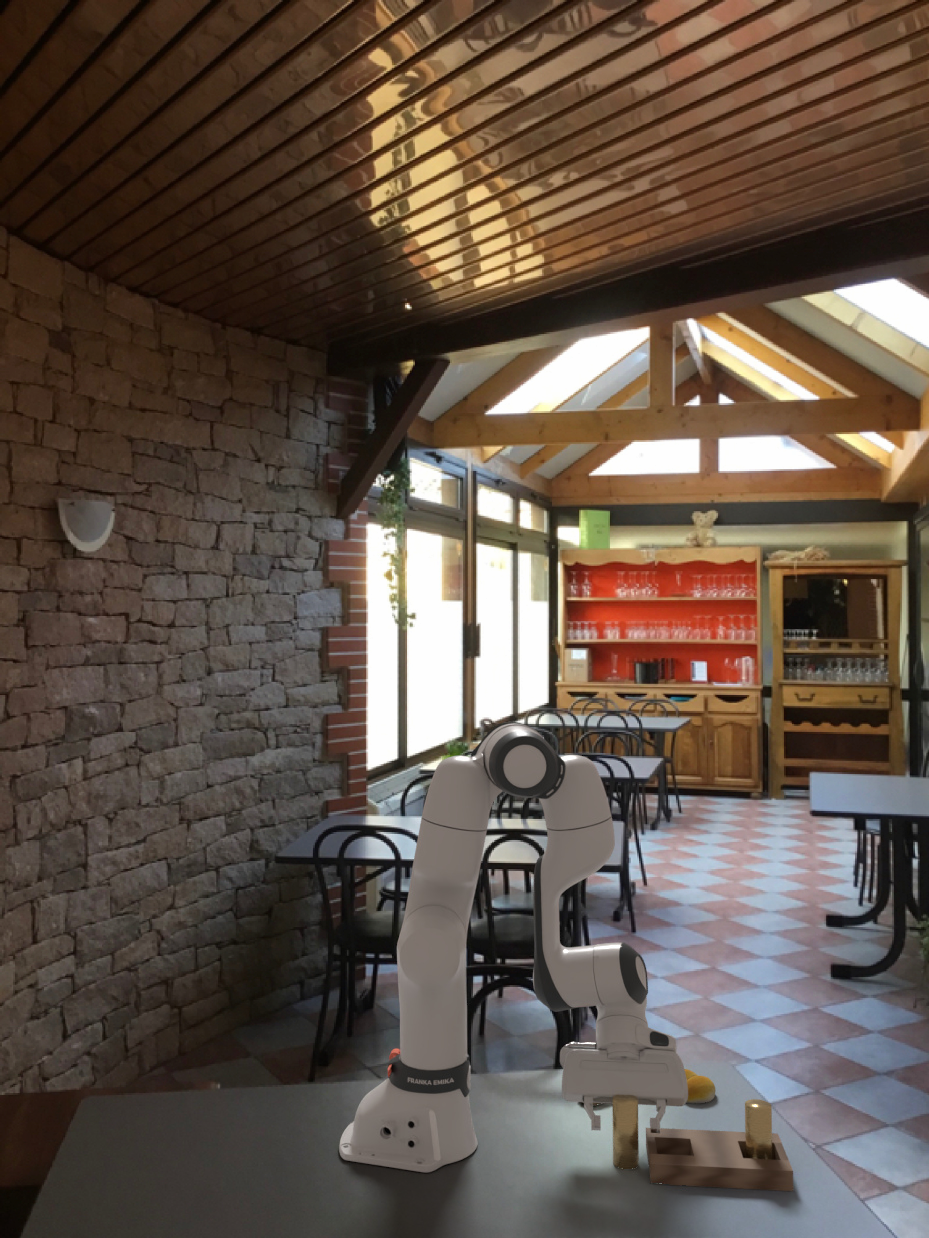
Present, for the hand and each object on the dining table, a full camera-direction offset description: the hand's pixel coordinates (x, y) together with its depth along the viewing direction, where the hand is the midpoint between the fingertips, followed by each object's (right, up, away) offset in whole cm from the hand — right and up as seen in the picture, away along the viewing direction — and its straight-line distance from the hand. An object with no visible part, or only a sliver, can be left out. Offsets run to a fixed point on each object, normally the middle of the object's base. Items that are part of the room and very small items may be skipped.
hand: (625, 1130), depth 163 cm
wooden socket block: (+14, -5, -1) cm, 15 cm away
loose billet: (0, -5, 0) cm, 5 cm away
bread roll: (+16, -6, +26) cm, 31 cm away
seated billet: (+20, -5, -2) cm, 21 cm away
